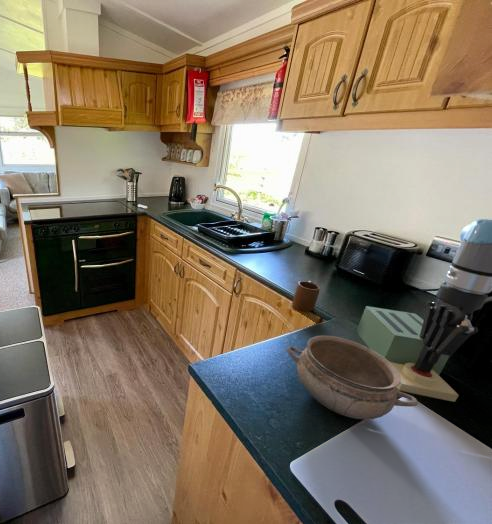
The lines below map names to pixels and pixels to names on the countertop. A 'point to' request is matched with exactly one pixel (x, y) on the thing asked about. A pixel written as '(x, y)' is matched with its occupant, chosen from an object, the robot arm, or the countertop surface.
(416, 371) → the button
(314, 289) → the mug
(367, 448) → the countertop surface
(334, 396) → the cooking pot
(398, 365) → the box
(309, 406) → the countertop surface
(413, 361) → the toaster
